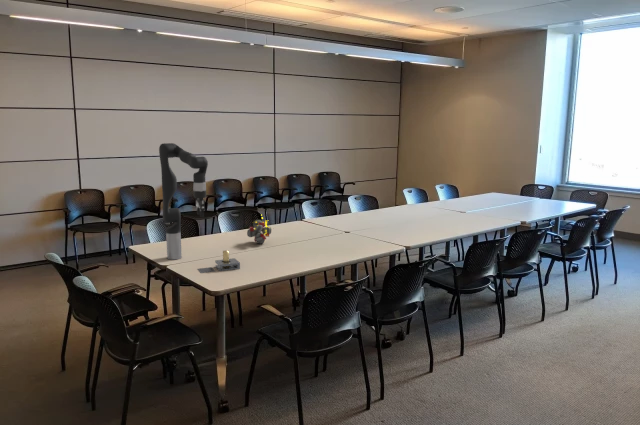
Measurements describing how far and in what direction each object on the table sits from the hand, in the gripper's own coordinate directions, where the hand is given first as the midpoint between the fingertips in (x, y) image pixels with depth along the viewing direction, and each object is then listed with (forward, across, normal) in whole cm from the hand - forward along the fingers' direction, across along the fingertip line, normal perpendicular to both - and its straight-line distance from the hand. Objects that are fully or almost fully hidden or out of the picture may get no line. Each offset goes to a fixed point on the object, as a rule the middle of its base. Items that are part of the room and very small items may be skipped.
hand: (200, 216), depth 308 cm
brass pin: (+32, +10, +12) cm, 36 cm away
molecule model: (+32, -43, +53) cm, 76 cm away
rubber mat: (+32, +10, 0) cm, 34 cm away
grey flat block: (+32, +10, +12) cm, 36 cm away
